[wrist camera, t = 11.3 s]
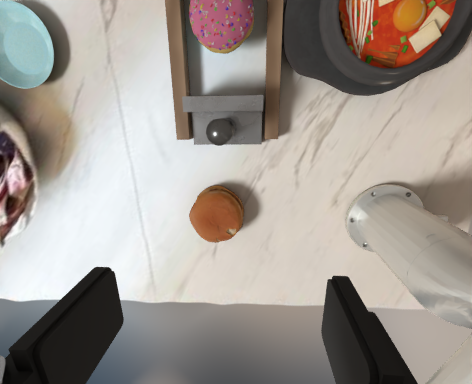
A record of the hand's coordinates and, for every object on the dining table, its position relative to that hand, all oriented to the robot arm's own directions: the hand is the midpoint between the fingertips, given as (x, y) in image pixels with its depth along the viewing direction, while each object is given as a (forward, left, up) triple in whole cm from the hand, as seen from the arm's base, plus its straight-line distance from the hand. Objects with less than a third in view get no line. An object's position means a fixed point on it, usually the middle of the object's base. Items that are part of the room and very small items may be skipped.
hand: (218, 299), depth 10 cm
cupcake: (+3, -20, -32) cm, 38 cm away
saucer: (+35, -18, -33) cm, 51 cm away
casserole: (-17, -19, -33) cm, 42 cm away
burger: (+5, +9, -33) cm, 34 cm away
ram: (+3, -7, -32) cm, 33 cm away
